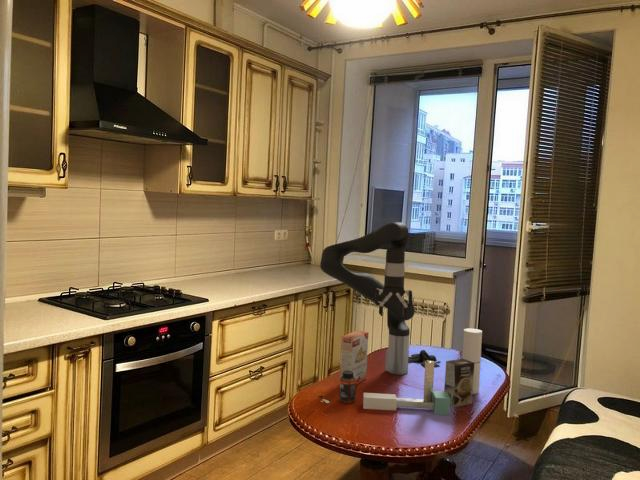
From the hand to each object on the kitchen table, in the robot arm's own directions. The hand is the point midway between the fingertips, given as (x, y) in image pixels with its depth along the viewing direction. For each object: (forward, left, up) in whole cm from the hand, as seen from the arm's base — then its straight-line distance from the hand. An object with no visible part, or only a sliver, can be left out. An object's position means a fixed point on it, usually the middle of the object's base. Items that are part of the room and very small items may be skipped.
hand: (392, 316), depth 198 cm
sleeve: (+2, -11, -32) cm, 34 cm away
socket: (+20, +2, -32) cm, 38 cm away
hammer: (+13, -3, -31) cm, 34 cm away
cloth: (-13, +54, -33) cm, 65 cm away
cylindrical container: (+20, +30, -32) cm, 48 cm away
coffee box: (+22, +14, -32) cm, 41 cm away
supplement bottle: (-10, -14, -32) cm, 37 cm away
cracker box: (-20, +4, -32) cm, 38 cm away
